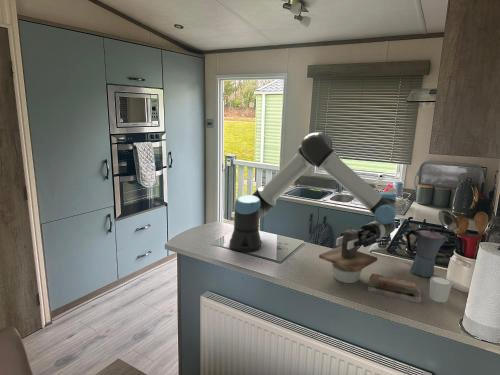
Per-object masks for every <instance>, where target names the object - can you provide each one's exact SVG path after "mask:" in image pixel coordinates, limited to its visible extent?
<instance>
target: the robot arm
mask: <svg viewBox="0 0 500 375" xmlns="http://www.w3.org/2000/svg"><path fill="white" fill-rule="evenodd" d="M296 151H297V152H296V154H295V155H293V157H292V158H291V159H290V160H289V161H288V162H287V163H286V164H285V165H284V166H283V167H282V168H281V169H280V170H279V171H278V173H277V174H275V176H273V177H272V178H271V179H270V181H269V182H267V183H266V185H264V186H263V187H262V186H260V187H258V188H257V189H256V190H255V191H254V193H252V194H248V195H247V194H245V195H240V196H239V197H236V199H235V201H234V206H233V207H234V212H233V213H234V220H233V221H234V222H233V232H232V234H231V237H230V240H229V247H230V248H231V249H232V250H233V251H237V252H242V253H253V252H258V251H259V250H261V249H262V244H263V243H262V240H261V235H260V220H261V219H262V218H263V217H264V216H266V215H268V214H269V213H270V212H271V210H272V209H273V208H274V207H275V206H276V205H277V200H278V199H279V198H280V197H281V196H282V195H283V194H284V193H285V192H286V190H288V189H289V188H290V187H291V186H292V185H293V184H294V183H295V182H296V181H297V180H298V179H299V178H300V177H301V176H303V175H304V173H306V171H308V169H309V168H310V167H316V168H317V169H320V170H321V169H322V170H323V171H324V172H326V174H328V175H329V176H330V177H331V178H332V179H334V180H335V181H336V182H337V183H338V184H339V185H340V186H341V187H343V188H344V190H346V191H347V192H348V193H349V194H351V196H353V197H354V198H355V199H356V200H357V201H358V202H359V203H360V204H362V205H363V206H364V207H365V208H366V209H367V210H368V211H369V213H371V214H372V215H373V216H374V221H371V222H369V223H366V224H363V225H362V226H361V227H360V228H357V229H356V230H354V229H353V227H349V229H347V230H353V231H356V232H359V233H358V239H357V238H356V239H354V240H352V241H349V242H348V244H347V249H348V250H349V249H351V248H354V247H357V248H358V247H361V246H363V248H367V247H369V246H373V245H374V244H379V243H380V242H381V240H380V239H381V238H383V237H386V236H389V235H391V234H392V233H393V232H394V231H395V230H396V227H397V224H396V222H395V219H396V216H397V211H396V202H397V199H396V198H397V195H396V193H394V192H391V191H379V192H378V191H376V190H375V188H373V187H372V186H371V185H370V184H369V183H367V182H366V181H365V179H363V178H362V177H361V176H360V175H358V174H357V173H356V172H355V171H354V170H353V169H352V168H350V167H349V165H347V164H346V163H345V162H344V161H342V159H341V158H339V157H338V156H337V155H336V151H335V150H334V149H333V141H332V138H331V137H330V136H329V135H328V134H327V133H325V132H323V131H316V132H311V133H309V134H307V135H305V137H303V139H302V141H301V144H299V146H298V147H297V149H296ZM343 234H344V231H342V232H340V234H339V237H338V238H336V240H335V246H337V247H339V246H342V244H343Z"/></svg>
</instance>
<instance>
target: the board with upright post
mask: <svg viewBox="0 0 500 375" xmlns="http://www.w3.org/2000/svg"><path fill="white" fill-rule="evenodd" d="M343 232H344V234H343V244H341V245H338V246H337V247H335V248H332V249H330V250H328V251H326V252H323V253H321V254H319V255H318V258H319V259H322V260H324V261H327V262H329V263H334V264H337V265H339V266H342V267H344V268H347V269H350V270H352V271H355V272H358V271H359V270H361V269H362V270H363V269H365V268H366V267H368V266H371V265H372V264H374V263H375V262H378V259H379V257H376V256H374V255H371V254H367V253H365V252H362V251H359V250H357V249H358V246H357V247H354V248H351V249H349V250H348V249H347V244H348V242H349V241H352V240H354V239H356V238H357V239H358V233H359V232H356V231H353V230H348V229H346V230H343ZM358 240H359V239H358Z"/></svg>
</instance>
